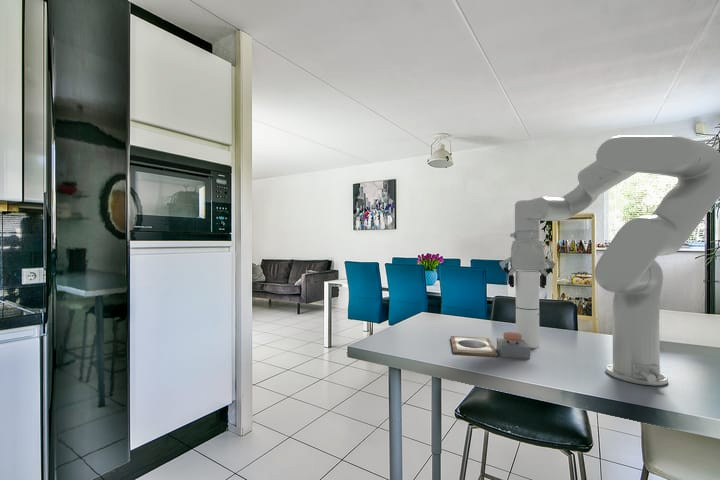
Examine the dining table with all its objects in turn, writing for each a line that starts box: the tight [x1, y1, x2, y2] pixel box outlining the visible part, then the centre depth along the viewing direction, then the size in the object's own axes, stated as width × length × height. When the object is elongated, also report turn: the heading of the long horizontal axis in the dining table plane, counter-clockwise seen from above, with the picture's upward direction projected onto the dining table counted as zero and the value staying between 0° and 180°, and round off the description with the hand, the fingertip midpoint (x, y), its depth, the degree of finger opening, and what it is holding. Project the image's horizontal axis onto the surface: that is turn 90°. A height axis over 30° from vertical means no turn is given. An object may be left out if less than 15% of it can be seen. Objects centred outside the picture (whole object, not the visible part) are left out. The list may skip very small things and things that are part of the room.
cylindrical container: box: [515, 270, 540, 349], centre depth 117 cm, size 7×7×25 cm
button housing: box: [496, 337, 531, 360], centre depth 108 cm, size 8×8×4 cm
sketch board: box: [450, 335, 499, 358], centre depth 115 cm, size 18×13×1 cm
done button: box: [503, 331, 522, 344], centre depth 108 cm, size 5×5×4 cm
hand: (526, 287), depth 117 cm, fingers open, 9 cm apart
